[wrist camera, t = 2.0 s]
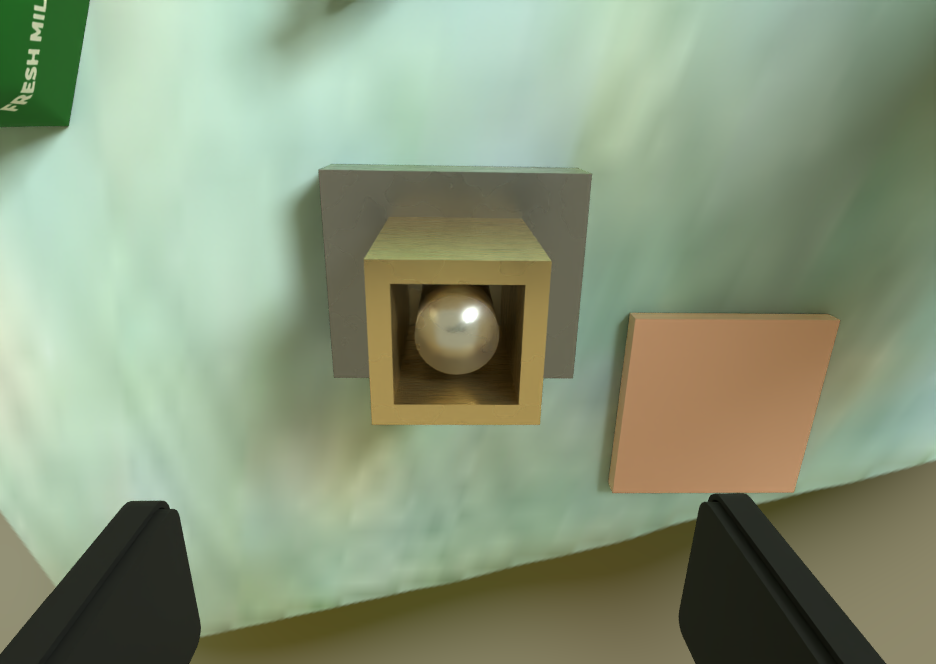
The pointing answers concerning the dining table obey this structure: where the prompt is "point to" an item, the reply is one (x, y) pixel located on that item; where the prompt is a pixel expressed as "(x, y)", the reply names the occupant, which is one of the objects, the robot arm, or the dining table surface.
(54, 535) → the dining table surface
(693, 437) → the tile
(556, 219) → the grey base with post
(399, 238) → the sleeve
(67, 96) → the milk carton
